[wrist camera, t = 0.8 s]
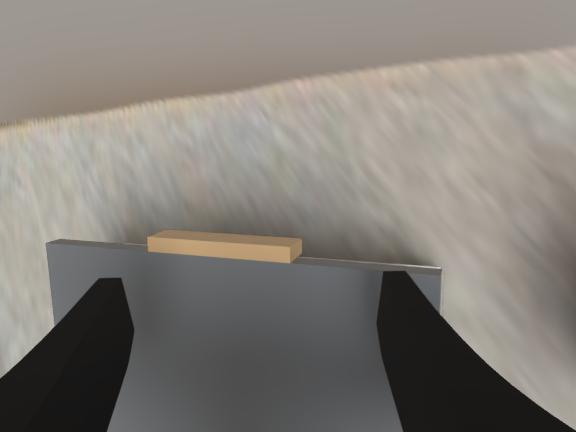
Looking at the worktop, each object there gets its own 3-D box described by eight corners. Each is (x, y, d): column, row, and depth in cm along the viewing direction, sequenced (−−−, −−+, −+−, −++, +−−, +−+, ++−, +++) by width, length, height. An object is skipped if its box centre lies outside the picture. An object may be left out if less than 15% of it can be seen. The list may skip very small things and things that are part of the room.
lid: (429, 565, 20) (427, 596, 19) (93, 475, 26) (72, 494, 24) (443, 247, 18) (441, 257, 16) (68, 223, 23) (44, 229, 22)
